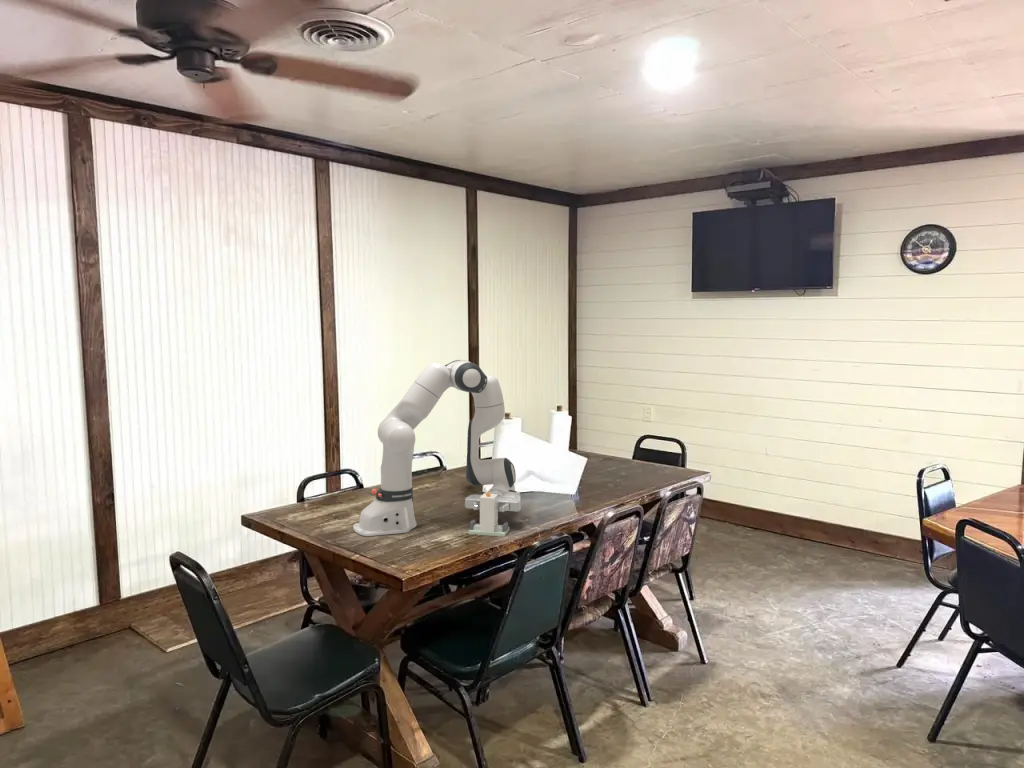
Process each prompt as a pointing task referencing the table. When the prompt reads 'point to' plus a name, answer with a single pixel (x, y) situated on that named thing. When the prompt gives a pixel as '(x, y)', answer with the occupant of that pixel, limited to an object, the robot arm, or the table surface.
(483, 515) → the block
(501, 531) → the rail plate
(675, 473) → the table surface
